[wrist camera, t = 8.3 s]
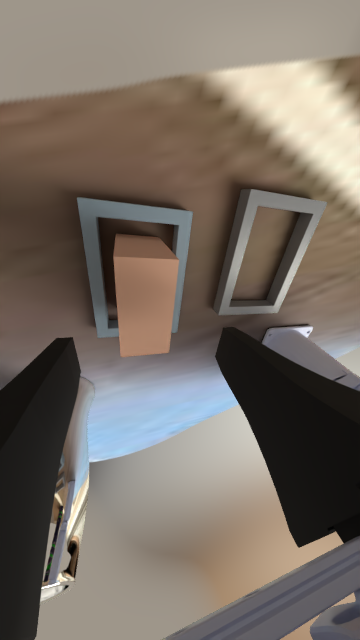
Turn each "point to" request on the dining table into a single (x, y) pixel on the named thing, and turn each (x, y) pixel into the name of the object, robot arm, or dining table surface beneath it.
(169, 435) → the dining table surface
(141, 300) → the terracotta block
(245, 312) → the grey rectangular open frame
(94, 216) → the grey picture frame
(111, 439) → the dining table surface
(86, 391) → the beer glass
